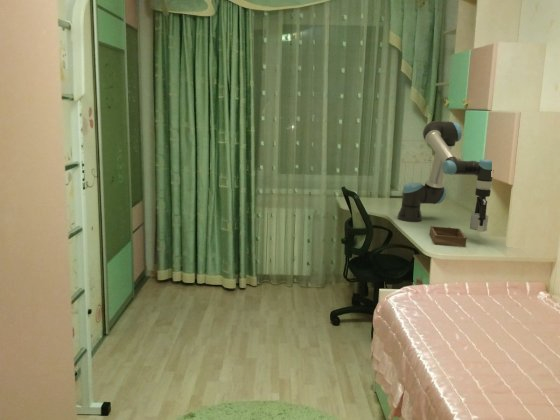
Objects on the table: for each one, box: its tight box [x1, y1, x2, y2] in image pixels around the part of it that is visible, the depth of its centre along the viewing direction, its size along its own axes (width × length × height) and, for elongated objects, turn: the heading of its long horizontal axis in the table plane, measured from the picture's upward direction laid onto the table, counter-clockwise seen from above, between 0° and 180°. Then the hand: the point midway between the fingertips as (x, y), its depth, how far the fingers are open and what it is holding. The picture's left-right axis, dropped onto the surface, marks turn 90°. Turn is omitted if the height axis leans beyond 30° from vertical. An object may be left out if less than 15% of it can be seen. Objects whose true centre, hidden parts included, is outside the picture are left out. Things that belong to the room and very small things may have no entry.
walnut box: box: [429, 226, 468, 248], centre depth 292 cm, size 22×16×5 cm
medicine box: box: [469, 212, 489, 233], centre depth 290 cm, size 8×4×9 cm, turn 35°
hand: (478, 229), depth 290 cm, fingers closed on medicine box, 8 cm apart
